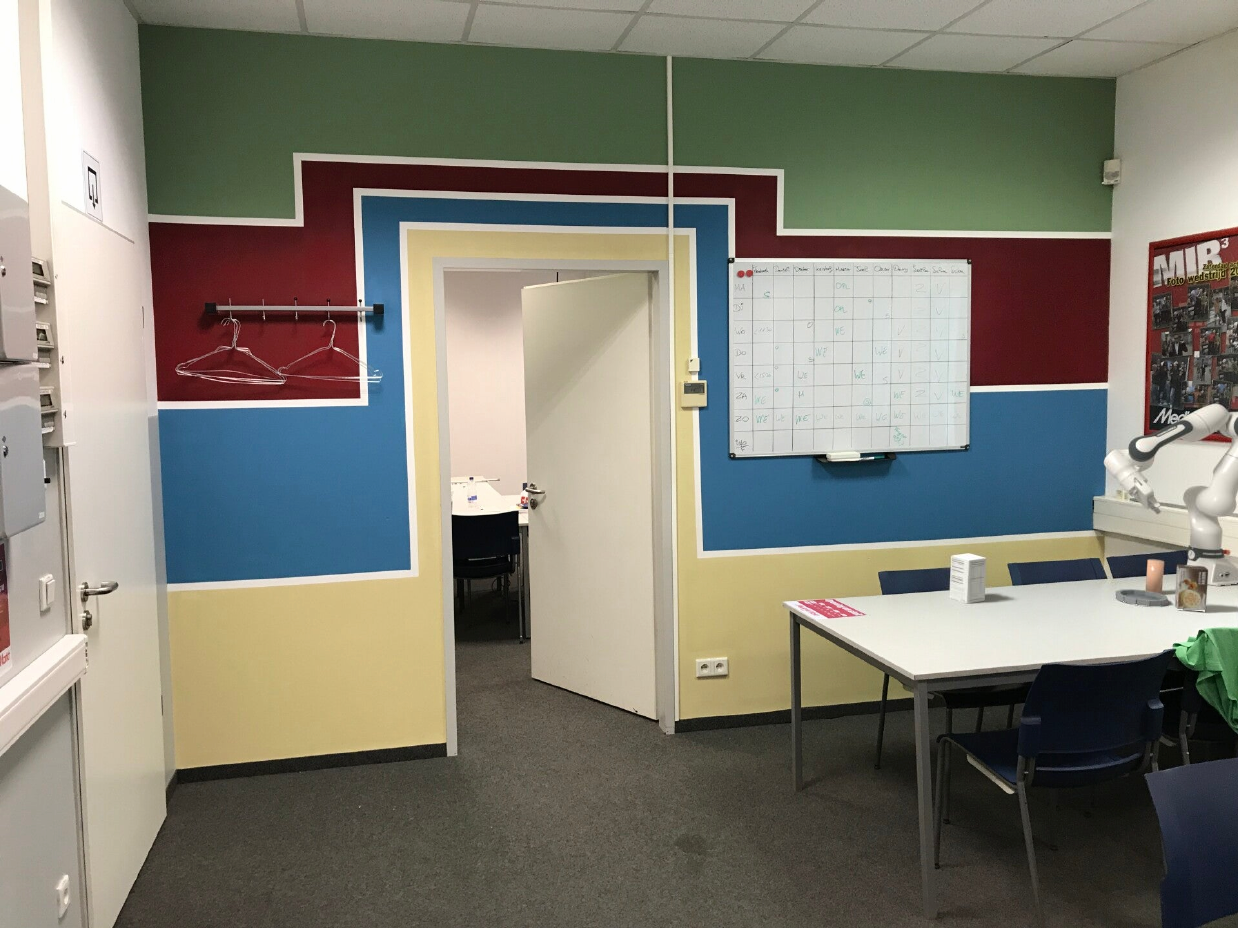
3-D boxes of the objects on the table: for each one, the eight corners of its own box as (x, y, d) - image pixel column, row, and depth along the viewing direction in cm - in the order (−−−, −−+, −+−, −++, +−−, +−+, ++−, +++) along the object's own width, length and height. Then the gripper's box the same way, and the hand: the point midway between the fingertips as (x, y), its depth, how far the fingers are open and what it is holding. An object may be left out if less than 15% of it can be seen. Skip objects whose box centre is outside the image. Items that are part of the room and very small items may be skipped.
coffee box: (1202, 608, 340) (1205, 566, 338) (1205, 613, 334) (1209, 569, 332) (1173, 605, 343) (1176, 563, 341) (1176, 610, 337) (1180, 567, 335)
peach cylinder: (1155, 591, 364) (1157, 559, 363) (1165, 594, 359) (1167, 562, 357) (1142, 591, 364) (1144, 559, 362) (1151, 595, 358) (1153, 562, 357)
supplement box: (966, 595, 357) (969, 552, 355) (985, 601, 349) (987, 557, 347) (948, 598, 353) (950, 555, 351) (966, 603, 345) (969, 559, 343)
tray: (1147, 594, 360) (1148, 588, 359) (1177, 606, 343) (1177, 600, 343) (1106, 595, 358) (1106, 589, 358) (1134, 606, 341) (1134, 601, 341)
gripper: (1141, 471, 368) (1165, 498, 360) (1143, 486, 384) (1166, 512, 377) (1126, 480, 369) (1151, 507, 362) (1129, 494, 386) (1152, 520, 379)
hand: (1158, 510), depth 370 cm, fingers open, 8 cm apart
